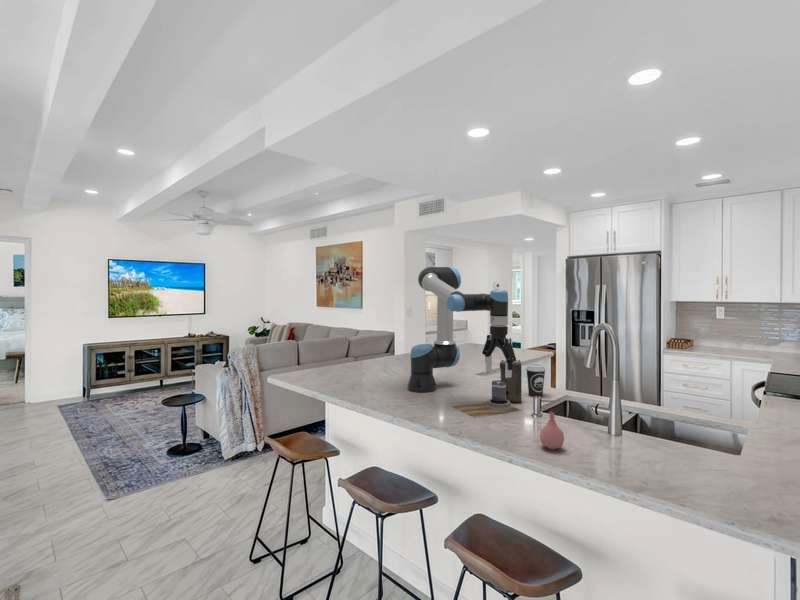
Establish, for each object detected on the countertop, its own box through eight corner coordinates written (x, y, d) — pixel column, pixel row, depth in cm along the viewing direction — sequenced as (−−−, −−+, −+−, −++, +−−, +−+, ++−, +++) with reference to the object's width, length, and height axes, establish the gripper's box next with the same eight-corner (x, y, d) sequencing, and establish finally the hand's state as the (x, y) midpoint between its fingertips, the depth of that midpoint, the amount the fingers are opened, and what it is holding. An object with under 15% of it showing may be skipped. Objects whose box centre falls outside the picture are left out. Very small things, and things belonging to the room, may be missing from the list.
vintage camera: (516, 396, 208) (515, 356, 208) (522, 403, 193) (521, 360, 193) (496, 396, 209) (495, 356, 209) (501, 403, 194) (500, 360, 194)
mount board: (451, 409, 184) (451, 400, 184) (495, 403, 194) (495, 393, 194) (475, 421, 168) (475, 411, 167) (522, 413, 178) (522, 403, 178)
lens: (488, 406, 184) (488, 380, 184) (499, 404, 186) (500, 379, 186) (497, 409, 178) (497, 383, 178) (508, 408, 181) (509, 382, 181)
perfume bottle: (541, 442, 145) (541, 408, 144) (565, 446, 142) (565, 410, 141) (538, 450, 138) (538, 414, 137) (563, 454, 135) (563, 417, 134)
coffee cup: (547, 394, 208) (548, 364, 208) (543, 399, 200) (543, 368, 200) (528, 392, 213) (528, 363, 213) (523, 396, 205) (523, 366, 205)
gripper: (474, 323, 191) (474, 369, 192) (510, 329, 168) (510, 381, 169) (488, 322, 194) (487, 367, 195) (525, 328, 171) (524, 379, 173)
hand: (498, 374), depth 182 cm, fingers open, 13 cm apart
